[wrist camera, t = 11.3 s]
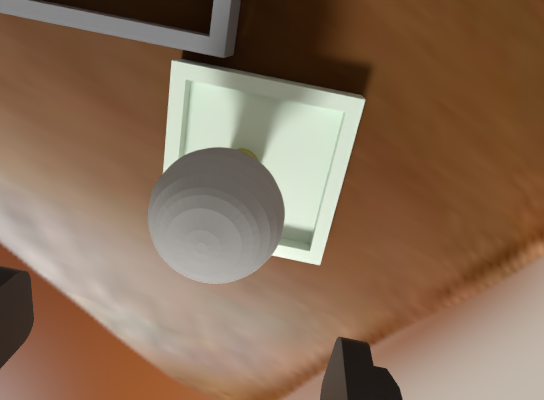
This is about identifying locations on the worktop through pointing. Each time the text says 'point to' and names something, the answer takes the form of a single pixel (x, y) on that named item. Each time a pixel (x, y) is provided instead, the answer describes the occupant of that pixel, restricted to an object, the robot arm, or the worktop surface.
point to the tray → (270, 139)
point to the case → (138, 25)
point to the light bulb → (216, 215)
